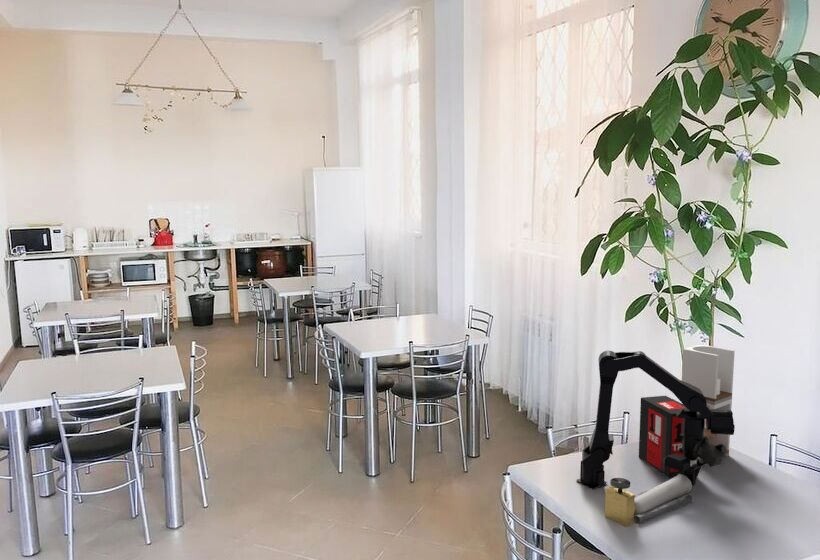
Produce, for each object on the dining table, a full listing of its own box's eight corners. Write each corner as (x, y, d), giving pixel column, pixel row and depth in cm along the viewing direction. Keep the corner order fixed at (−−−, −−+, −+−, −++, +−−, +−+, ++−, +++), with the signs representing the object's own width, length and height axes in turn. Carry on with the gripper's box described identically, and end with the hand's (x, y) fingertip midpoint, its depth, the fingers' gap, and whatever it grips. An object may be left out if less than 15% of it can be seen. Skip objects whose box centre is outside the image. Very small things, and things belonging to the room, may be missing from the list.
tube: (644, 508, 182) (694, 481, 198) (627, 496, 186) (678, 470, 201) (638, 524, 184) (688, 496, 200) (621, 511, 188) (672, 485, 203)
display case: (678, 453, 229) (683, 349, 225) (696, 445, 236) (701, 344, 231) (711, 463, 220) (716, 355, 216) (728, 455, 227) (734, 350, 222)
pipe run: (599, 515, 186) (600, 477, 185) (663, 491, 201) (665, 455, 200) (626, 529, 179) (628, 490, 177) (692, 503, 193) (693, 466, 192)
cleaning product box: (638, 457, 226) (640, 397, 224) (663, 454, 228) (665, 395, 226) (668, 477, 210) (671, 413, 208) (694, 474, 212) (697, 411, 210)
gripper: (698, 448, 186) (697, 503, 188) (739, 433, 196) (737, 485, 198) (663, 436, 195) (662, 489, 198) (703, 422, 206) (702, 473, 208)
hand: (692, 484), depth 200 cm, fingers closed
